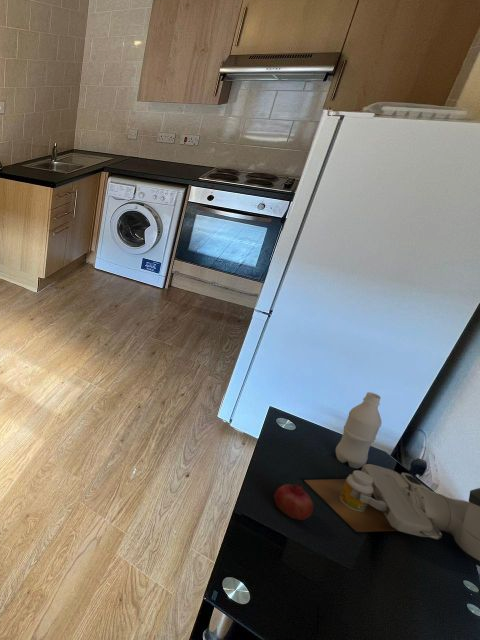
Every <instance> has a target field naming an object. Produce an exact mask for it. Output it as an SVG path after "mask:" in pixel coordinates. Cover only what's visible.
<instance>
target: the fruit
mask: <svg viewBox="0 0 480 640" xmlns="http://www.w3.org/2000/svg"><path fill="white" fill-rule="evenodd" d="M273 498H274V501H275V505H276V507H277V508H278V510H280V511H281V512H282V513H283V514H284V515H286V516H288V517H289V518H291V519H293V520H294V519H295V520H299V521H304V520H307V519H308V518H310V517H311V516H312V514H313V511H314V502H313V500H312V498H311V496H310V494H309V493H307V492H306V490H304V488H303V485H301V484H299V483H293V484H289V483H285V484H283V485H281V486H280V487H278V488H277V489H276V491H275V493H274V495H273Z"/></svg>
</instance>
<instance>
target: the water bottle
mask: <svg viewBox="0 0 480 640" xmlns="http://www.w3.org/2000/svg"><path fill="white" fill-rule="evenodd" d="M362 400H363V401H362V402H361V403H359V404H358V405H356V406H354V407H353V408H351V409H350V410H349V412H348V416H347V419H346V422H345V424H344V426H343V433H342V436H341V439H340V441H339V442H338V444H336V447H335V451H334V452H335V456H336V457H335V458H336V459H337V460H338V461H339V463H341V464H346V463H348V467H350V468H352V469H360V468H362V467H363V465H365V464H367V461H368V459H369V450H370V448H371V446H372V444H373V443H374V442H375V440H376V437H377V435H378V432H379V430H380V427H382V418H381V415H380V411H379V406H380V404H381V402H380V401H381V396H380V395H379V394H377V393H374V392H366V394H365V396H364V397H363V399H362Z"/></svg>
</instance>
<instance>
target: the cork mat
mask: <svg viewBox="0 0 480 640" xmlns="http://www.w3.org/2000/svg"><path fill="white" fill-rule="evenodd" d="M346 479H347V478H329V479H326V478H325V479H304V480H303V481H304V482H305V484H307V486H309V487H310V489H312V490H313V492H314V493H316V494H317V495H318V496H319V498H321V499H322V500H323V501H324V502H325V503H326V504H327V505H328V506H329V507H330V508H331V509H332V510H333V511H334V512H335V513H336V514H337V515H338V516H339V517H340V518H341V519H342V520H343V521H344V522H345V523H346V524H347V525H348V526H349V527H351V529H353V531H354V532H355V533H376V532H377V533H379V532H381V533H382V532H399V531H398V530H396V529H395V528H393V527H392V526H391V525H390V523H389V521H388V519H387V518H386V516H385V514H384V513H383V511H380V510H378V509H376V508H374V507H373V506H371V505H369V504H368V505H367V508H366V510H365V511H362V512H360V511H356V510H353V509H351V508H349V507H347V506H346V505H345V504H344V503H343V502H342V501H341V500H340V494H341V492H342V489H343V487H344V484H345V482H346Z"/></svg>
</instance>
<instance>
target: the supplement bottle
mask: <svg viewBox="0 0 480 640" xmlns="http://www.w3.org/2000/svg"><path fill="white" fill-rule="evenodd" d="M351 474H352V476H349V475H348V476H347V477H346V478H345V479H346V482H345V484H344V487H343V489H342V492H341V494H340V500H341V501H342V502H343V503H344V504H345V505H346V506H347V507H349V508H351V509H353V510H356V511H360V512H362V511H365V510H366V508H367V505H368V504H367V503H364V502H361V501H360V499H359V497H358V495H359V493H360V492H362V493H364V494H368V495H369V497H371V498H372V496H373V494H372V493H373V487H372V483H373V478H372V477H371V476H370V475H368V474H366V473H364V472H362V471H361V470H359V469H358V470H357V469H356V470H353V471H352V473H351Z"/></svg>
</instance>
